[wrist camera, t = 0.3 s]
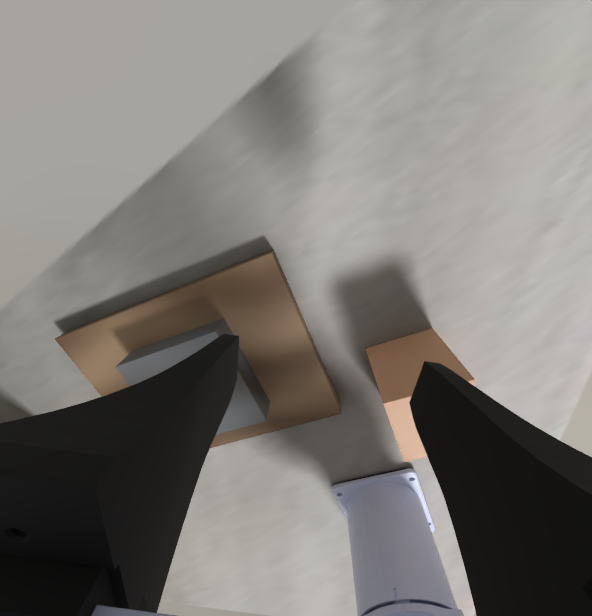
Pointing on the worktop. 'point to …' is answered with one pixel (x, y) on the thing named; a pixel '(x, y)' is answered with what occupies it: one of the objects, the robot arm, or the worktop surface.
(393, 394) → the block
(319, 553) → the worktop surface
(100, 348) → the base
